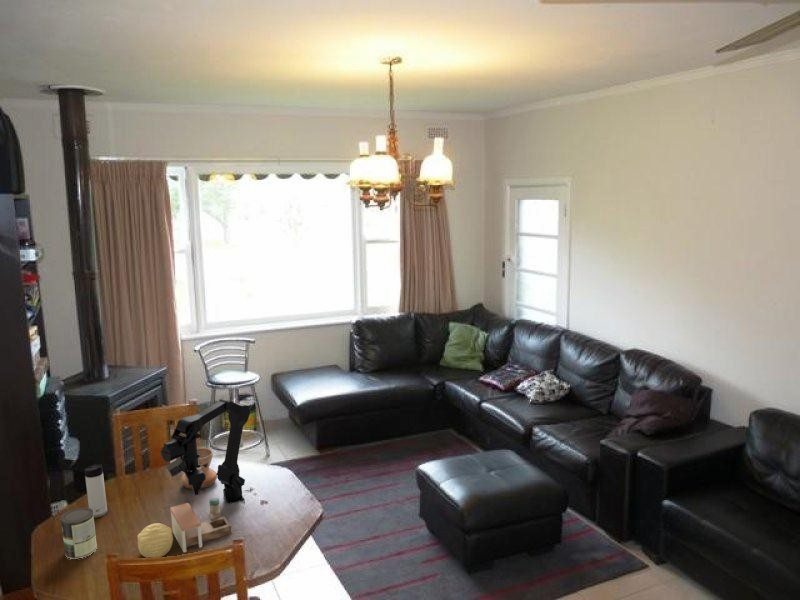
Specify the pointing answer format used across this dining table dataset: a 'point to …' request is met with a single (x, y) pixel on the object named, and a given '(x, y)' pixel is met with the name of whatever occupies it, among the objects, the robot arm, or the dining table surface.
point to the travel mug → (96, 490)
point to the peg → (214, 508)
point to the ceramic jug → (203, 468)
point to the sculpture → (155, 540)
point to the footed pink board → (184, 523)
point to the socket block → (208, 531)
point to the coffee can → (78, 533)
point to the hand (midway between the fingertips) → (193, 489)
